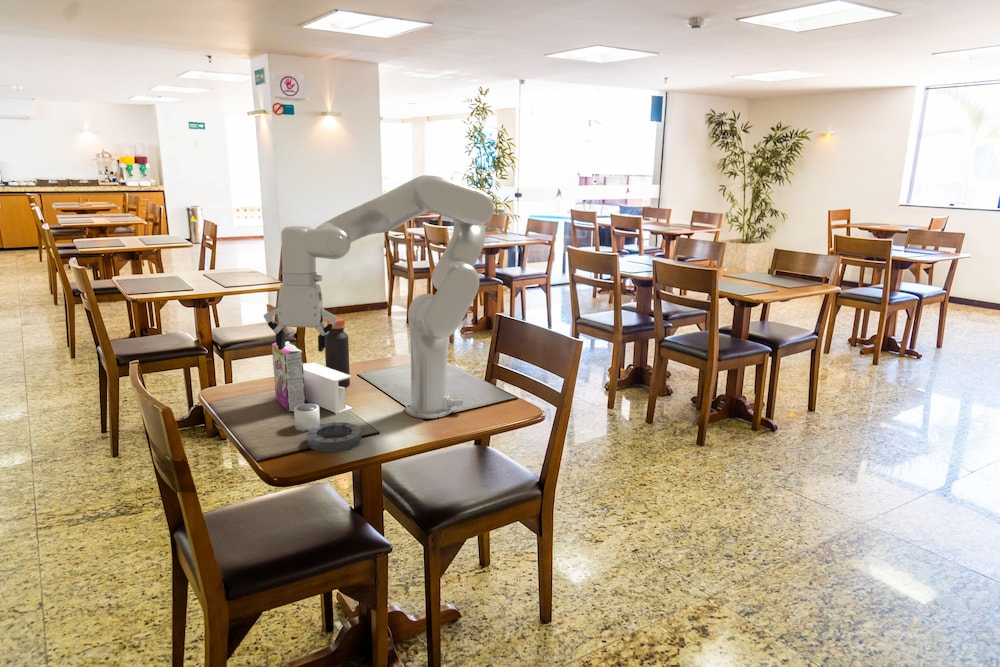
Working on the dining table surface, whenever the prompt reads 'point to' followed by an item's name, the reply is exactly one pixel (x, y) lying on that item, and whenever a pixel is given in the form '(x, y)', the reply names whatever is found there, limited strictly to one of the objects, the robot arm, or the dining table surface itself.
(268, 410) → the dining table surface
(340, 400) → the long white box
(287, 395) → the candy bar box
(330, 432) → the gray notched ring
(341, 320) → the bottle
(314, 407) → the white short cylinder
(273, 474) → the dining table surface
